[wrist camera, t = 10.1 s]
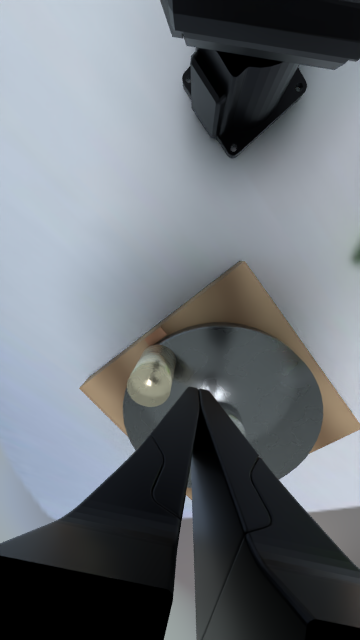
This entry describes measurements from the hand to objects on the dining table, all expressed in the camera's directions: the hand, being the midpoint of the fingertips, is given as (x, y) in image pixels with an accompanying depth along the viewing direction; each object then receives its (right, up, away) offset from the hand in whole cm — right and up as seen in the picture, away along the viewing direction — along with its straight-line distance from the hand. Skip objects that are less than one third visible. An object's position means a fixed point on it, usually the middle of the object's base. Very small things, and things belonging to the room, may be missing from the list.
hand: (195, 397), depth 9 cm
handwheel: (+3, -6, +12) cm, 14 cm away
